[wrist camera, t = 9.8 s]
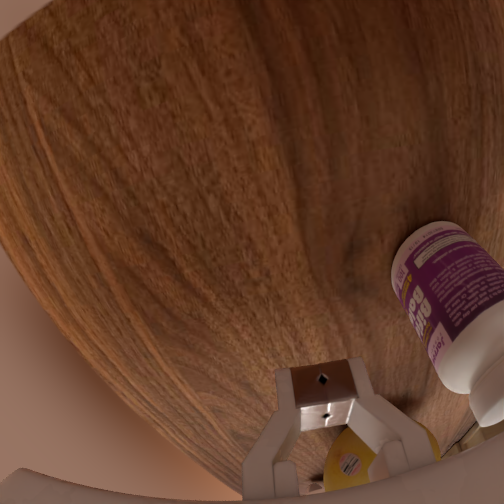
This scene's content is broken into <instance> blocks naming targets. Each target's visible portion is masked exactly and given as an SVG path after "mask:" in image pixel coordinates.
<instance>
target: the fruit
mask: <svg viewBox="0 0 504 504" xmlns="http://www.w3.org/2000/svg"><path fill="white" fill-rule="evenodd" d="M412 420H413V419H412ZM413 421H414V422H416V423H417V424H418V425H420V426H421V427H422V428H424V429H425V430H426V432H427V435H428V438H429V441H430V444H431V447H432V450H433V453H434V456H435V459H436V462H438V461H440V460H441V454H440V449H439V445H438V443H437V440H436V439H435V437H434V436H433V434H432V433H431V432H430V431H429V430H428V429H427V428H426V427H425V426H424V425H422V424H421V423H419V422H417V421H415V420H413ZM376 456H377V454H376V453H375V452H374V451H373V450H372V449H371V448H370V447H369V446H368V445H367V444H366V443H365V442H364V441H363V440H362V439H361V438H360V437H359V436H358V435H357V434H356V433H355V432H354V431H353V430H352V429H351V428H350V427H347V428H346V429H345V430H344V431H343V432H342V433H341V434H340V435H339V436H338V437H337V439H336V440H335V442H334V443H333V445H332V447H331V448H330V450H329V452H328V455H327V457H326V461H325V466H324V487H325V492H328V491H334V490H339V489H344V488H349V487H354V486H358V485H362V484H367V483H370V479H369V475H368V470H367V469H368V468H369V466H370V465H371V463H372V462H373V460H374V459H375V457H376Z"/></svg>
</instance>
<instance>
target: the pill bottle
mask: <svg viewBox="0 0 504 504" xmlns="http://www.w3.org/2000/svg"><path fill="white" fill-rule="evenodd" d="M391 282H392V286H393V289H394V291H395V293H396V295H397V297H398V299H399V300H400V302H401V304H402V306H403V308H404V309H405V311H406V313H407V315H408V317H409V319H410V321H411V323H412V325H413V327H414V328H415V330H416V332H417V334H418V336H419V338H420V340H421V341H422V343H423V345H424V347H425V349H426V351H427V353H428V355H429V357H430V359H431V361H432V363H433V365H434V368H435V370H436V372H437V374H438V376H439V378H440V380H441V381H442V383H443V384H444V385H445V386H446V387H447V388H448V389H449V390H451V391H453V392H455V393H460V394H469V393H470V394H469V402H470V403H469V405H470V408H471V409H472V411H473V413H474V416H475V418H476V420H477V422H478V424H479V425H480V426H481V427H487V426H491V425H494V424H496V423H498V422H500V421H502V420H503V419H504V270H503V269H502V268H501V267H500V265H499V264H498V263H497V262H496V261H495V260H494V259H493V258H492V257H491V256H490V255H489V254H488V253H487V252H486V251H485V250H484V249H483V248H482V247H481V246H480V245H479V244H478V243H477V242H476V241H475V240H474V239H473V238H472V237H471V236H470V235H469V234H468V233H467V232H466V231H464V230H463V229H462V228H461V227H460V226H458V225H457V224H455V223H452V222H447V221H438V222H432V223H429V224H428V225H425V226H423V227H421V228H419V229H418V230H416V231H415V232H414V233H413V234H411V235H410V236H409V237H408V238H407V239H406V240H405V241H404V243H403V244H402V245H401V247H400V248H399V250H398V252H397V254H396V256H395V258H394V261H393V265H392V270H391Z"/></svg>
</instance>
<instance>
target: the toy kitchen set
mask: <svg viewBox="0 0 504 504" xmlns="http://www.w3.org/2000/svg"><path fill="white" fill-rule="evenodd" d="M503 431H504V419H503V420H502V421H500V422H498V423H496V424H494V425H491V426H487V427H481V426H480V425H479V424H478V422H476V423H475V424H474V426H473V427H472V428H471V429H470V430H469V431H468V433H467V434H466V435H465V436H464V437H463V438H462V439H461V440H460V441H459V442H458V443H456V444H454V445H453V447H452V448H451V449H450V450H449V451H448V452H447V453H446V454H445V455H444V456H443V457H442V458H441V460H443V459H445V458H448V457H450V456H453V455H455V454H457V453H460V452H462V451H464V450H467V449H469V448H471V447H473V446H475V445H477V444H480V443H482V442H484V441H486V440H488V439H490V438H492V437H494V436H496V435H498V434H500V433H501V432H503Z"/></svg>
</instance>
